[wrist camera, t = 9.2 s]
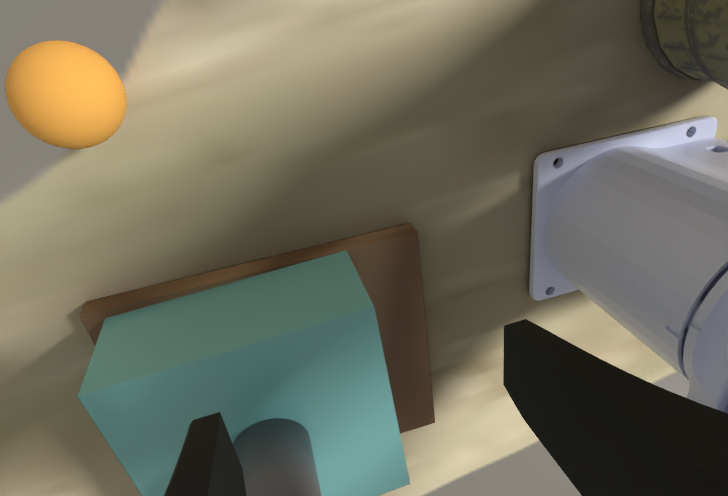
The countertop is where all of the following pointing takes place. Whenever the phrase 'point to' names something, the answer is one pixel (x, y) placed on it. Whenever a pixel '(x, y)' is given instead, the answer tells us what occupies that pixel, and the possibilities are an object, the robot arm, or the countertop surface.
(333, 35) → the countertop surface
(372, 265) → the walnut board
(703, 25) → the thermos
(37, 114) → the ball
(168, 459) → the cover
